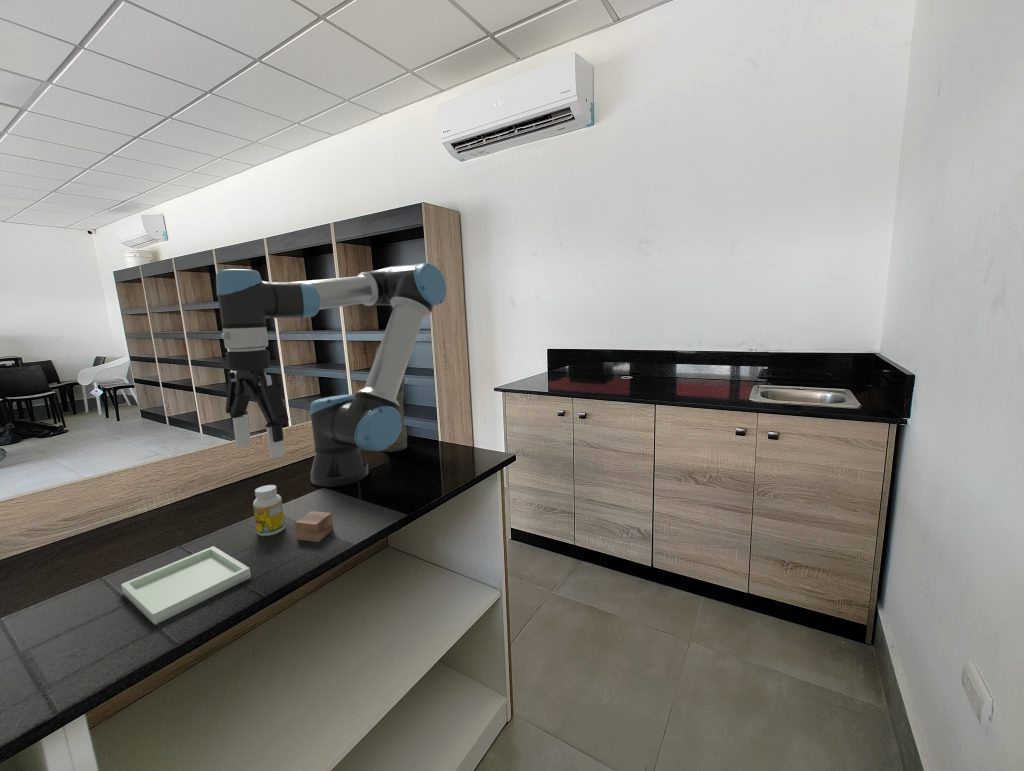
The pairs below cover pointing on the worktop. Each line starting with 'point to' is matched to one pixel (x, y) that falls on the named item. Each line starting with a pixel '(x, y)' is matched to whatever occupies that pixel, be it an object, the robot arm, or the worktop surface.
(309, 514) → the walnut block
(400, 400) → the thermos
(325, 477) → the robot arm
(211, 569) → the tray
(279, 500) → the supplement bottle
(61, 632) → the worktop surface
